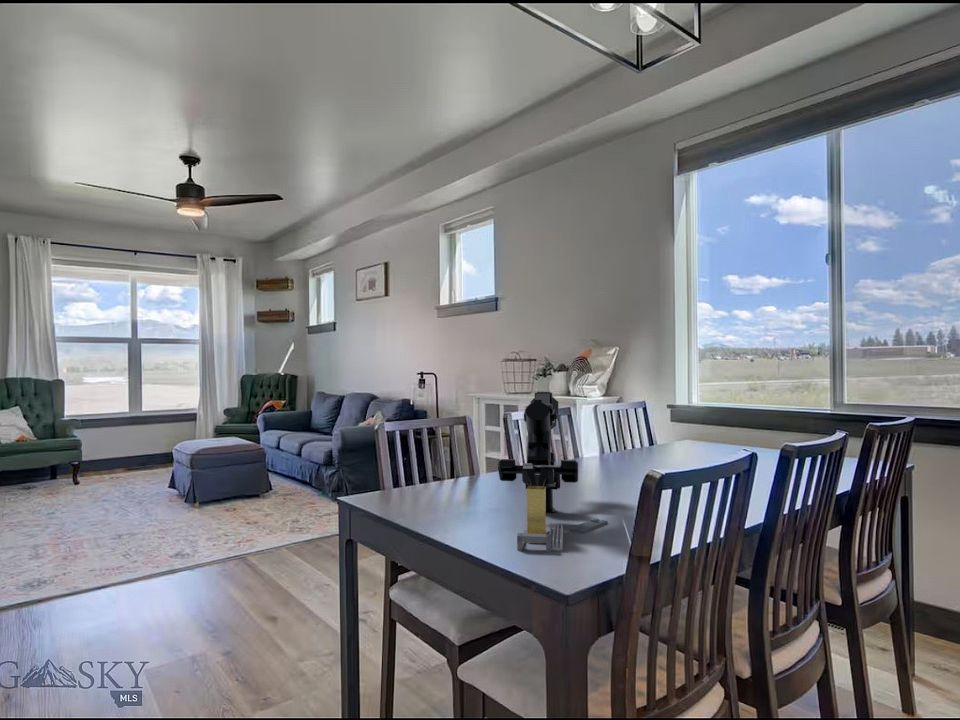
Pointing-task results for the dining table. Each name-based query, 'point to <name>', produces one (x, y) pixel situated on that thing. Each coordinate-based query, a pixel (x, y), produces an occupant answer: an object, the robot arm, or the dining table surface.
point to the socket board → (543, 539)
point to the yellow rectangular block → (536, 510)
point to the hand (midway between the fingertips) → (537, 501)
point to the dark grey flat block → (589, 525)
